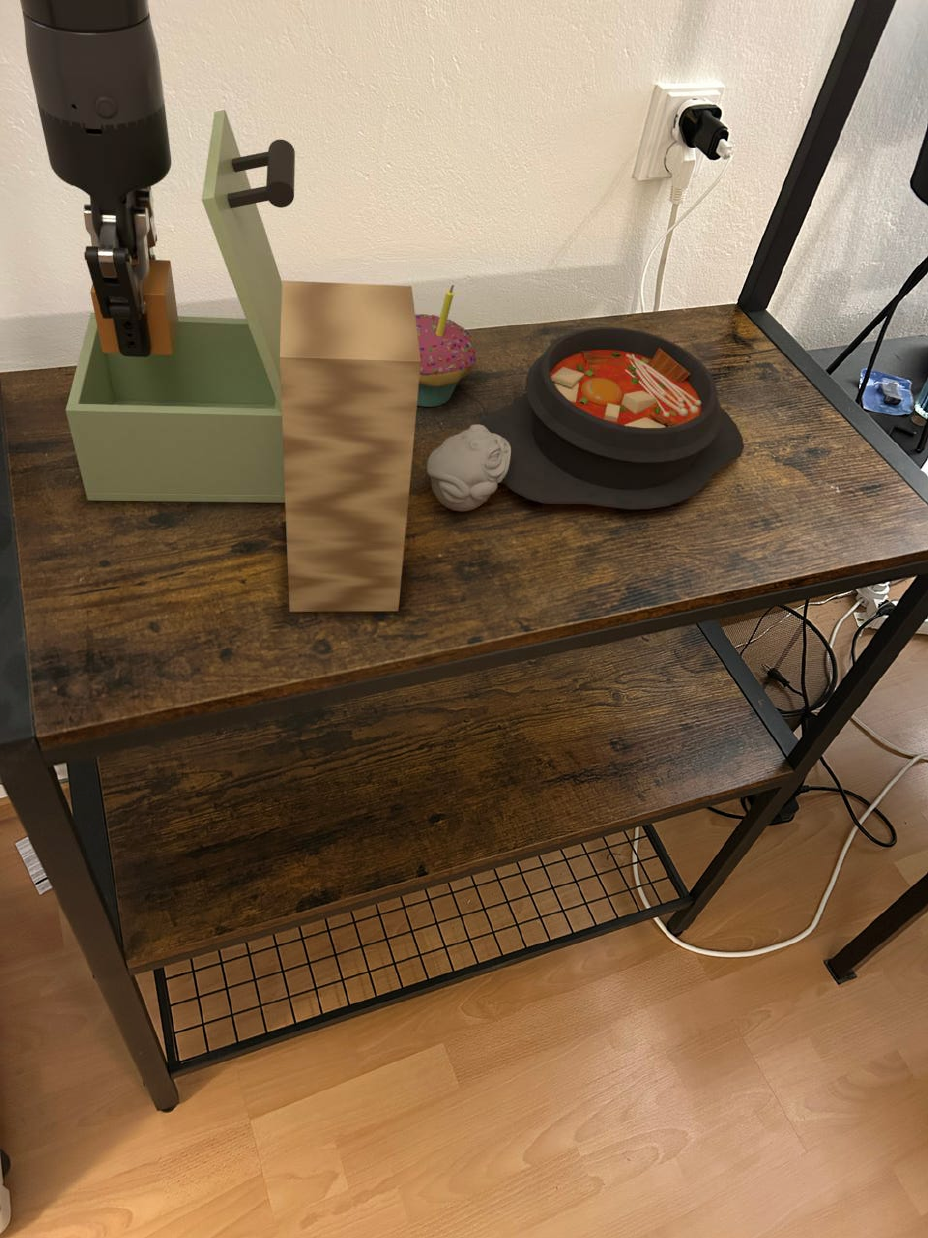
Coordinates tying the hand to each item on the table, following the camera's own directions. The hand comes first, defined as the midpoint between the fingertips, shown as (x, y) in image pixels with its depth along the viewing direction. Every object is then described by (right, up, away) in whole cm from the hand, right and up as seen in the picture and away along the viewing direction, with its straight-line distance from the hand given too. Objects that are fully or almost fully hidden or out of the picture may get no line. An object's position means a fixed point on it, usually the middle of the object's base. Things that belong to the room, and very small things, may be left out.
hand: (140, 332), depth 72 cm
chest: (+2, -7, +9) cm, 12 cm away
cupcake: (+20, 0, +18) cm, 27 cm away
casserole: (+37, -7, +15) cm, 41 cm away
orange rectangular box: (0, 0, 0) cm, 0 cm away
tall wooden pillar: (+15, -18, +2) cm, 23 cm away
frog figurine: (+24, -12, +9) cm, 28 cm away
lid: (+9, +4, -3) cm, 10 cm away
